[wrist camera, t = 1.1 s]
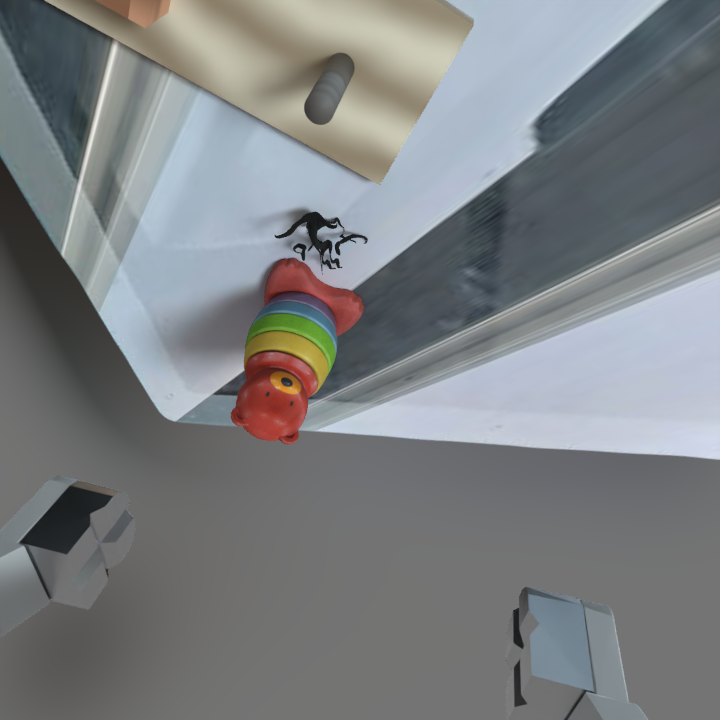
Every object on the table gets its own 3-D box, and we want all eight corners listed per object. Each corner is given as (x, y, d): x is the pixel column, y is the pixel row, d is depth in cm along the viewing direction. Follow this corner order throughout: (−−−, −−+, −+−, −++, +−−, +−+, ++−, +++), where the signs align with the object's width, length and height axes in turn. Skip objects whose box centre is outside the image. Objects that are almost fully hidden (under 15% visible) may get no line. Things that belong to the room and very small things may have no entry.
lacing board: (47, -262, 32) (-65, -275, 25) (473, 19, 38) (470, 65, 32) (41, -13, 42) (-41, 23, 35) (382, 176, 48) (365, 236, 42)
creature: (376, 249, 55) (350, 190, 49) (372, 290, 53) (344, 233, 46) (306, 260, 58) (273, 205, 52) (299, 300, 55) (263, 247, 49)
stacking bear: (371, 301, 59) (341, 432, 47) (327, 350, 66) (291, 476, 54) (284, 249, 56) (228, 376, 44) (247, 307, 63) (190, 430, 51)
